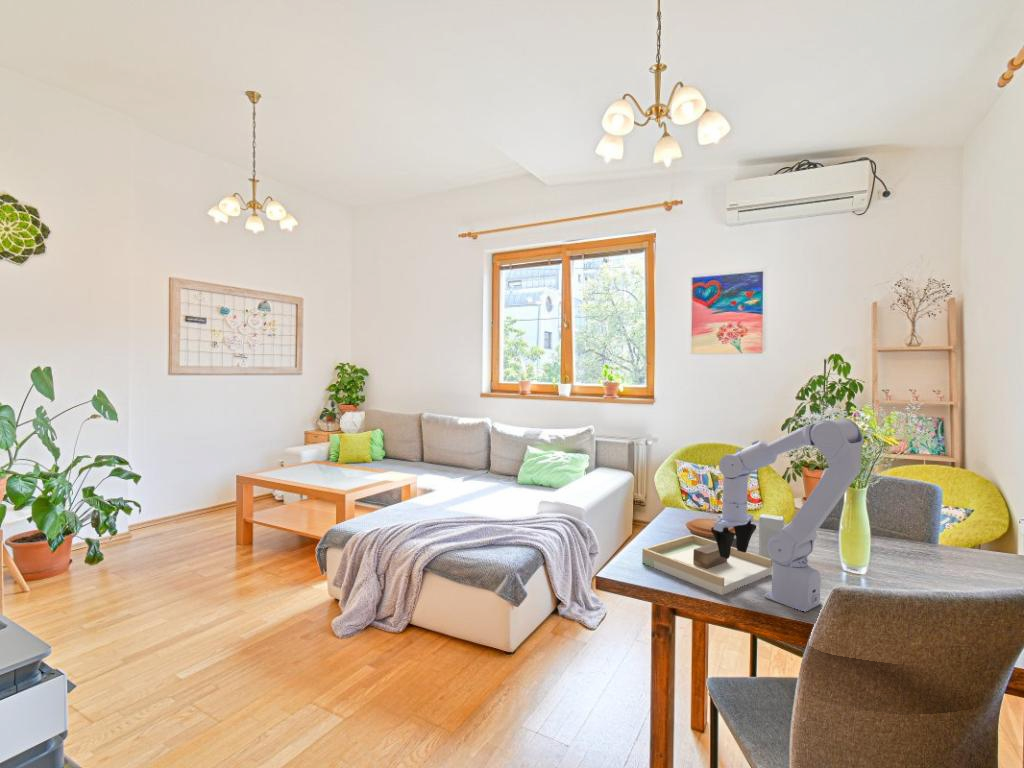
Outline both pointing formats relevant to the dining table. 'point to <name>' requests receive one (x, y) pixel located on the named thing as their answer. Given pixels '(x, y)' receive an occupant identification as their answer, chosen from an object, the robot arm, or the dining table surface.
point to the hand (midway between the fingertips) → (733, 554)
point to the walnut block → (708, 556)
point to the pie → (704, 528)
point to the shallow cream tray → (717, 579)
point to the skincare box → (768, 531)
